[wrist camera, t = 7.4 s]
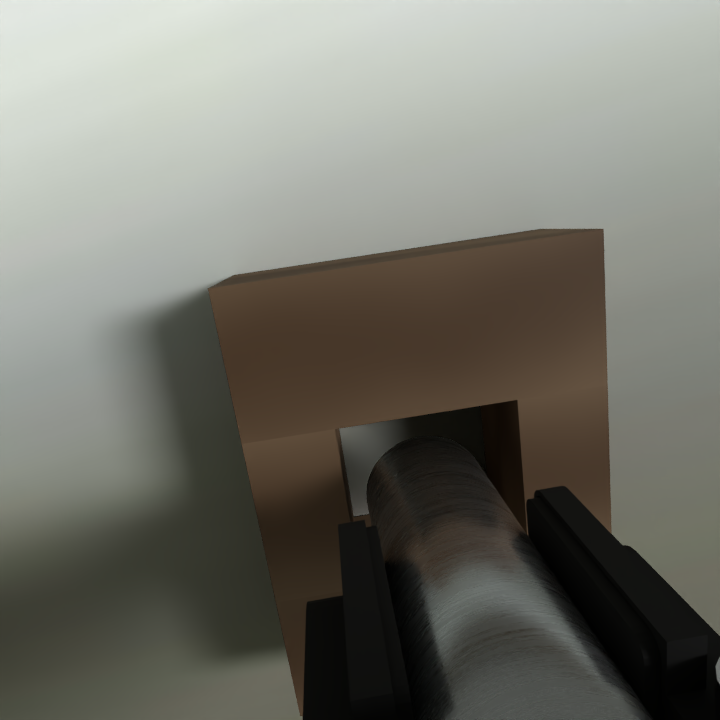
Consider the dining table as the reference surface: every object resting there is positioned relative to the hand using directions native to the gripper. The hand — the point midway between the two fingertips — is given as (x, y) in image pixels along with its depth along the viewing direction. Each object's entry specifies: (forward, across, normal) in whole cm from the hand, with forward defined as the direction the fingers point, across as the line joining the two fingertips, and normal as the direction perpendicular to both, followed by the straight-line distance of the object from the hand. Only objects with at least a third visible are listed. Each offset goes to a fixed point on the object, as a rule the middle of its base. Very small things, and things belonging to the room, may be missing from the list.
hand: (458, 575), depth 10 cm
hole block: (+7, 0, 0) cm, 7 cm away
